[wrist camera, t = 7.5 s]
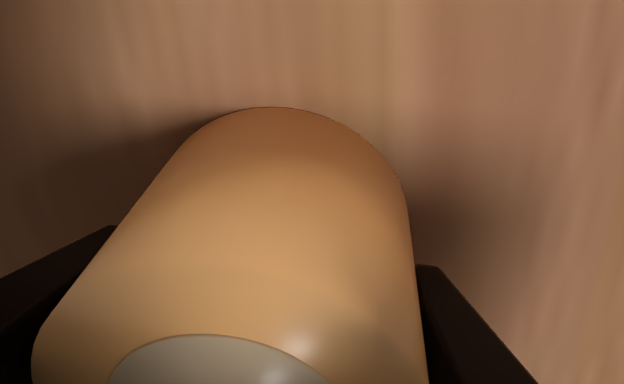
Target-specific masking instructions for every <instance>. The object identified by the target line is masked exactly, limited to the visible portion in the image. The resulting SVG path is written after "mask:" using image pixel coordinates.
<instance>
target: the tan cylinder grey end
mask: <svg viewBox="0 0 624 384" xmlns="http://www.w3.org/2000/svg"><path fill="white" fill-rule="evenodd" d="M31 377H32V382H33V384H429V378H428V370H427V362H426V354H425V346H424V338H423V329H422V321H421V313H420V305H419V297H418V289H417V281H416V273H415V265H414V257H413V249H412V241H411V233H410V225H409V217H408V210H407V205H406V199H405V196H404V193H403V191H402V188H401V185H400V183H399V181H398V179H397V177H396V175H395V173H394V171H393V170H392V168H391V167H390V166H389V164H388V163H387V162H386V160H385V159H384V157H383V156H382V155H381V154H380V153H379V152H378V151H377V150H376V149H375V148H374V147H373V146H372V145H371V144H370V143H368V142H367V141H366V140H365V139H363V138H362V137H361V136H360V135H358V134H357V133H355V132H354V131H352V130H350V129H349V128H347V127H346V126H344V125H342V124H340V123H338V122H336V121H333V120H331V119H329V118H327V117H324V116H321V115H317V114H314V113H311V112H308V111H302V110H297V109H291V108H278V107H265V108H252V109H247V110H242V111H237V112H234V113H231V114H228V115H225V116H222V117H219V118H217V119H215V120H213V121H211V122H210V123H208V124H206V125H204V126H202V127H201V128H200V129H198V130H197V131H196V132H194V133H193V134H191V135H190V136H189V137H188V138H187V139H186V140H185V141H184V142H183V143H182V144H181V145H180V147H179V148H178V149H177V151H176V152H175V153H174V154H173V156H172V157H171V158H170V160H169V161H168V162H167V164H166V165H165V166H164V167H163V169H162V170H161V171H160V173H159V174H158V175H157V176H156V178H155V179H154V180H153V182H152V183H151V184H150V186H149V187H148V188H147V189H146V191H145V192H144V193H143V195H142V196H141V197H140V198H139V200H138V201H137V202H136V204H135V205H134V206H133V208H132V209H131V210H130V211H129V213H128V214H127V215H126V217H125V218H124V219H123V220H122V222H121V223H120V224H119V226H118V227H117V228H116V230H115V231H114V232H113V233H112V235H111V236H110V237H109V239H108V240H107V241H106V242H105V244H104V245H103V246H102V248H101V249H100V250H99V252H98V253H97V254H96V255H95V257H94V258H93V259H92V261H91V262H90V263H89V264H88V266H87V267H86V268H85V270H84V271H83V272H82V274H81V275H80V276H79V277H78V279H77V280H76V281H75V283H74V284H73V285H72V286H71V288H70V289H69V290H68V292H67V293H66V294H65V296H64V297H63V298H62V299H61V301H60V302H59V303H58V305H57V306H56V307H55V308H54V310H53V311H52V312H51V314H50V315H49V317H48V318H47V319H46V321H45V322H44V324H43V325H42V326H41V328H40V330H39V333H38V335H37V337H36V340H35V342H34V346H33V351H32V357H31Z"/></svg>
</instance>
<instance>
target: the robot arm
mask: <svg viewBox="0 0 624 384" xmlns="http://www.w3.org/2000/svg"><path fill="white" fill-rule="evenodd" d="M117 227H118V226H117V225H108V226H106V227H104V228H102V229H100V230H98V231H96V232H94V233H92V234H90V235H88V236H86V237H84V238H82V239H80V240H78V241H76V242H73V243H71V244H69V245H67V246H65V247H63V248H61V249H59V250H57V251H55V252H53V253H51V254H49V255H47V256H45V257H43V258H41V259H39V260H37V261H35V262H33V263H31V264H29V265H27V266H25V267H23V268H21V269H19V270H17V271H14V272H12V273H10V274H8V275H6V276H4V277H2V278H0V384H33V382H32V377H31V357H32V351H33V346H34V342H35V340H36V337H37V335H38V333H39V330H40V328H41V326H42V325H43V324H44V322H45V321H46V319H47V318H48V317H49V315H50V314H51V312H52V311H53V310H54V308H55V307H56V306H57V305H58V303H59V302H60V301H61V299H62V298H63V297H64V296H65V294H66V293H67V292H68V290H69V289H70V288H71V286H72V285H73V284H74V283H75V281H76V280H77V279H78V277H79V276H80V275H81V274H82V272H83V271H84V270H85V268H86V267H87V266H88V264H89V263H90V262H91V261H92V259H93V258H94V257H95V255H96V254H97V253H98V252H99V250H100V249H101V248H102V246H103V245H104V244H105V242H106V241H107V240H108V239H109V237H110V236H111V235H112V233H113V232H114V231H115V230H116V228H117ZM415 273H416V281H417V289H418V297H419V305H420V313H421V321H422V329H423V338H424V346H425V354H426V362H427V370H428V378H429V384H538V383H537V381H536V380H535V379H534V378H533V377H532V376H531V374H530V373H529V372H528V371H527V370H526V369H525V367H524V366H523V365H522V364H521V363H520V362H519V360H518V359H517V358H516V357H515V356H514V355H513V353H512V352H511V351H510V350H509V349H508V348H507V346H506V345H505V344H504V343H503V342H502V341H501V339H500V338H499V337H498V336H497V335H496V334H495V332H494V331H493V330H492V329H491V328H490V327H489V325H488V324H487V323H486V322H485V321H484V320H483V318H482V317H481V316H480V315H479V314H478V313H477V311H476V310H475V309H474V308H473V307H472V306H471V304H470V303H469V302H468V301H467V300H466V299H465V297H464V296H463V295H462V294H461V293H460V292H459V290H458V289H457V288H456V287H455V286H454V285H453V283H452V282H451V281H450V280H449V279H448V278H447V276H446V275H445V274H444V273H443V272H442V271H441V269H439V268H438V267H436V266H430V265H422V264H417V265H416V266H415Z"/></svg>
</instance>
